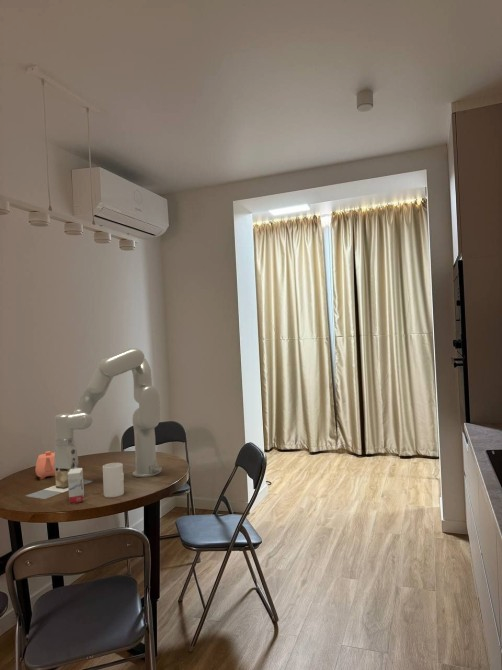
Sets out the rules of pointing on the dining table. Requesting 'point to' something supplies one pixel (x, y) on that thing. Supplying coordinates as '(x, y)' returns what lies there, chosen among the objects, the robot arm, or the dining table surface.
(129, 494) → the dining table surface
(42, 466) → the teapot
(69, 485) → the ink box
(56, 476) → the block
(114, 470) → the mug
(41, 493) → the grey board
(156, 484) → the dining table surface
